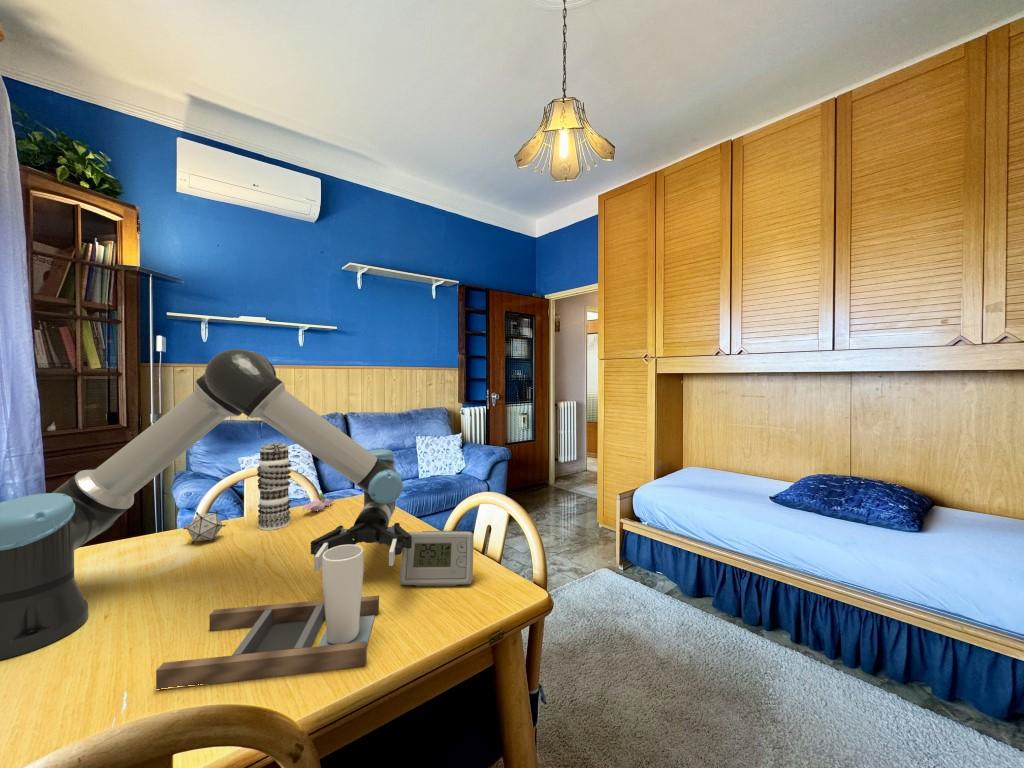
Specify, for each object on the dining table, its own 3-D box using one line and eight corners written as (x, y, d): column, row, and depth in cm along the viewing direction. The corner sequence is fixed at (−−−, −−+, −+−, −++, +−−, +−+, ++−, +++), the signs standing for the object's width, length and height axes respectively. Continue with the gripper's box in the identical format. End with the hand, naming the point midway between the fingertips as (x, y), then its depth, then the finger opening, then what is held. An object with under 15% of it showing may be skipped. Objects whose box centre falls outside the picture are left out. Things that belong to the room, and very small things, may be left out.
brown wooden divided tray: (156, 690, 59) (156, 670, 59) (214, 625, 74) (214, 609, 74) (364, 666, 64) (364, 647, 64) (378, 610, 79) (378, 595, 79)
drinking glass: (354, 650, 68) (354, 561, 67) (314, 649, 68) (314, 560, 67) (369, 625, 74) (369, 544, 74) (332, 624, 74) (332, 543, 74)
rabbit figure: (321, 507, 146) (295, 514, 131) (323, 490, 147) (297, 495, 132) (338, 508, 145) (313, 515, 130) (339, 491, 146) (315, 496, 131)
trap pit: (232, 674, 62) (231, 655, 62) (265, 626, 74) (265, 610, 74) (302, 666, 64) (301, 647, 64) (323, 620, 76) (323, 604, 76)
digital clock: (395, 587, 88) (395, 538, 88) (412, 568, 97) (412, 524, 97) (467, 594, 86) (467, 544, 85) (478, 574, 94) (478, 528, 94)
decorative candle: (297, 519, 129) (297, 441, 129) (281, 530, 120) (281, 446, 119) (268, 519, 129) (268, 441, 128) (250, 530, 120) (250, 446, 119)
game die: (206, 556, 111) (196, 536, 105) (182, 543, 112) (171, 522, 106) (235, 531, 118) (228, 510, 112) (212, 518, 119) (204, 497, 113)
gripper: (425, 534, 100) (420, 575, 79) (318, 540, 96) (283, 586, 75) (425, 504, 100) (421, 538, 79) (318, 509, 96) (283, 546, 75)
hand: (354, 561), depth 77 cm, fingers open, 13 cm apart
